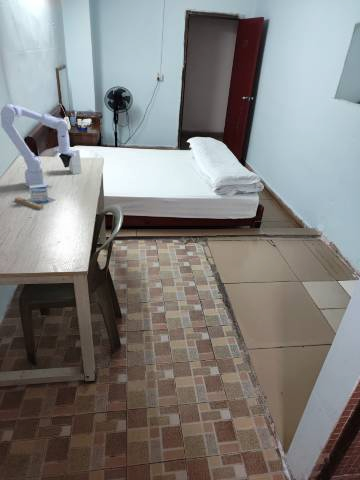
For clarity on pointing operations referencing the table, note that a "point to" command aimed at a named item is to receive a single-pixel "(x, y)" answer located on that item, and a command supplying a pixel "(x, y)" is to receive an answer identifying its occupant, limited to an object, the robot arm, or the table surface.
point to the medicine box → (39, 193)
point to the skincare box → (75, 162)
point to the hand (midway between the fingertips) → (66, 167)
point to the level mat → (32, 204)
